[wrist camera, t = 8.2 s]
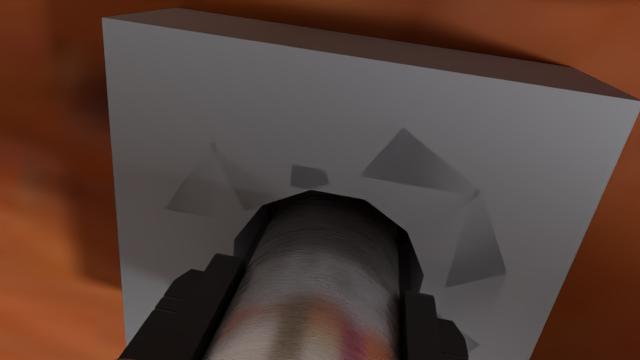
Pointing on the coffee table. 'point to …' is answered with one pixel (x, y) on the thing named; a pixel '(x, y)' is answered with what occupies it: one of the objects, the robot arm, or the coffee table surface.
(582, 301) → the coffee table surface
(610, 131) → the bore block
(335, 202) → the round bit
